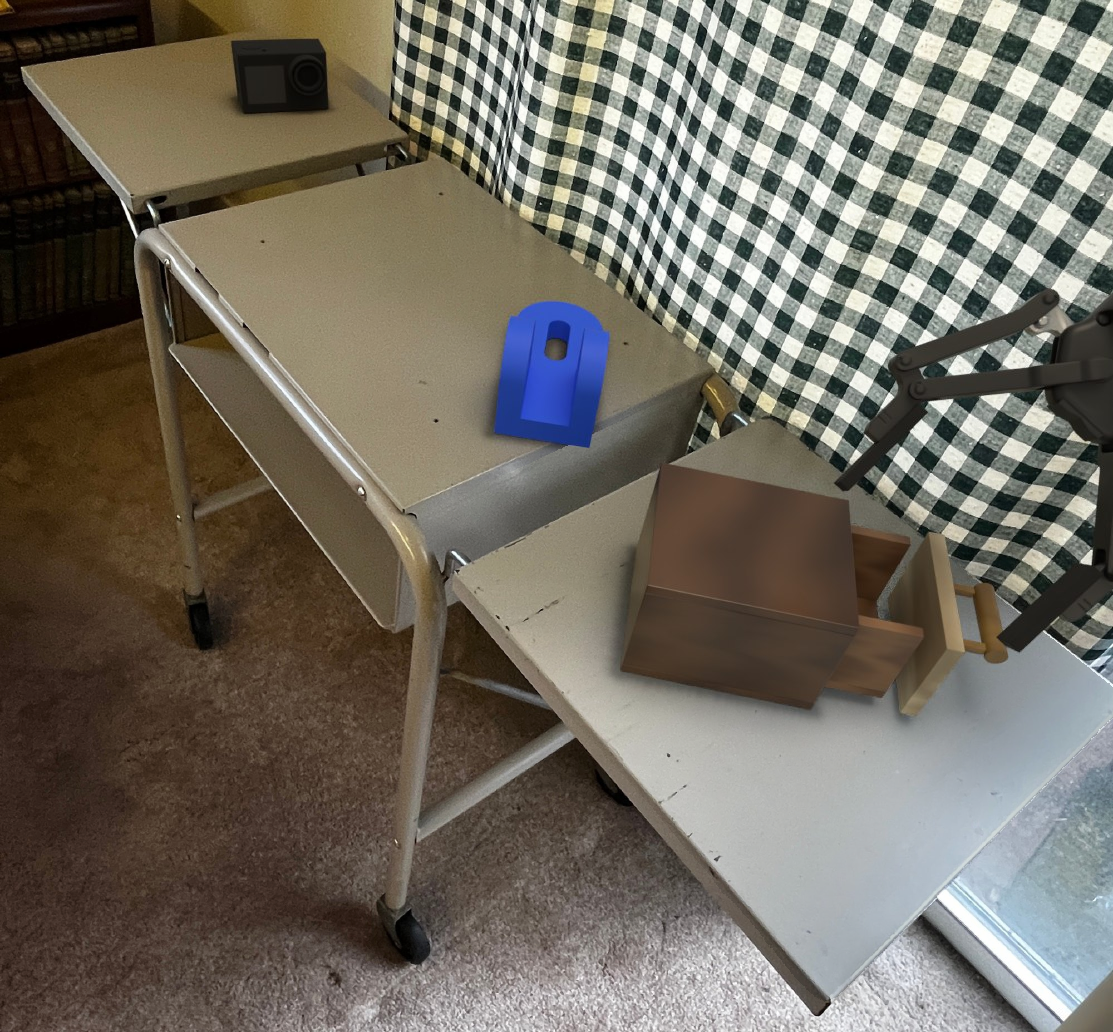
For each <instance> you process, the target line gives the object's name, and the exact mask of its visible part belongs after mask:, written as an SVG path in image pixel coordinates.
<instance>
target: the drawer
mask: <svg viewBox="0 0 1113 1032" xmlns="http://www.w3.org/2000/svg"><path fill="white" fill-rule="evenodd" d="M851 532H852V544H853V556H854V568H855V580H856V593H857V605H858V617H859V630H858V632H857V634H856V635H855V637H854V639H853V640H852V642H851V644H850V645H849V647H848V649H847V650H846V652H845V654H844V655H843V657H842V659H841V660H840V662H839V663H838V665H837V667H836V668H835V670H834V672H833V673H832V675H831V677H830V678H829V680H828V682H827V683H826V685H825V687H824V688H830V689H835V690H840V691H845V692H849V693H854V694H858V695H859V694H860V695H864V696H869V697H873V698H878V699H883V697H884V696H885V694H886V693H887V691H888V690H890V687H891V686H892V684H893V683H894V682H895V680H896V689H897V690H896V691H897V699H898V700H897V701H898V708H899V713H900V714H903V715H907V716H913V717H917V716H918V715H919V714H920V713H921V711H922V710H923V708H925V706H926V705H927V703H928V702H929V700H930V699H931V698H932V697H933V695H934V694H935V693H936V691H937V690H938V689H939V687H940V686H941V685H942V684H943V682H944V681H945V680H946V678H947V677H948V675H950V673H951V672H952V671H953V669H954V668H955V667H956V665H957V664H958V663H959V661H960V660H961V659H962V657H963V656H964V655H965V653H970V654H976V655H981V656H983V660H984V661H986V663H988V664H991V665H992V664H993V665H999V664H1003V663H1005V662H1006V661H1008V659H1009V652H1008V647H1006V646H1005V645H1004V644H1003V643H1001V642H1000V641H999V640H998V639H997V638H996V637H997V636H998V635H999V634H1000V633H1001V632H1002V631H1003V630H1004V628H1003V623H1002V618H1001V614H1000V609H999V605H998V601H997V600H998V599H997V596H996V590H995V586H993V584H991V583H988V582H980V583H976V584H975V585H974V586H969V585H966V584H965V585H964V584H960V583H955V582H954V581H953V580H954V579H953V576H952V568H951V563H950V558H949V552H948V546H947V540H946V535H945V534H943V533H937V532H933V531H927V533H926V535H925V537H924V538H923V539H922V542H921V543H920V545H919V546H918V548H917V549H916V551H915V553H914V554H913V556H912V557H911V560H910V561H909V563H908V564H907V565H906V567H905V569H904V570H903V573H902V574H901V576H900V577H899V579H898V581H897V582H896V584H895V585H894V587H893V589H892V590H891V592H890V594H889V595H888V596H887V599H886V600H887V601H886V602H887V610H888V618H889V620H885V619H880V618H879V612H878V610H879V609H878V600H879V599H880V596H881V595H882V594H883V592H884V591H885V589H886V587H887V585H888V584H889V582H890V580H891V579H892V577H893V575H894V574H895V573H896V571H897V569H898V567H899V565H900V563H902V561H903V559H904V557H905V555H906V554H907V552H908V551H909V549H910V547H911V545H912V544H911V543H912V542H911V537H910V536H907V535H903V534H898V533H893V532H888V531H883V530H878V529H874V528H868V527H863V526H858V525H854V524H851ZM957 596H960V597H965V598H968V599H972V602H973V607H974V613H975V617H976V622H977V629H978V634H979V637H980V638H979V639H980V642H979V641H975V640H971V639H970V640H969V639H965V638H964V637H963V631H962V625H961V620H960V615H959V608H958V604H957V603H958V602H957V598H956V597H957Z"/></svg>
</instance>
